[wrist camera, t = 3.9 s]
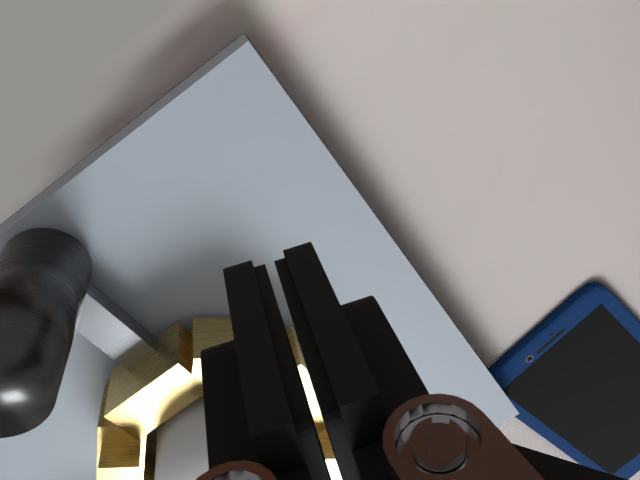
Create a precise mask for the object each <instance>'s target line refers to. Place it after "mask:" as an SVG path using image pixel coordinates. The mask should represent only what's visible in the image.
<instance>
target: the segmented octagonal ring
mask: <svg viewBox="0 0 640 480" xmlns="http://www.w3.org/2000/svg"><path fill="white" fill-rule="evenodd" d="M91 275H92V260H91V257H90V255H89V253H88V251H87V249H86V248H85V247H84V245H83V244H82V243H81V242H80V241H79V240H77V239H76V238H75V237H73V236H71V235H70V234H68V233H66V232H63V231H60V230H57V229H52V228H33V229H28V230H25V231H22V232H20V233H18V234H16V235H15V236H13V237H12V238H11V239H10V240H9V241H8V242H7V243H6V244H5V246H4V248H3V249H2V251H1V253H0V438H7V437H13V436H17V435H20V434H23V433H26V432H28V431H30V430H32V429H34V428H36V427H37V426H39V425H40V424H42V423H43V422H44V421H45V420H46V419H47V418H48V417H49V415H50V414H51V412H52V411H53V409H54V406H55V403H56V400H57V396H58V393H59V389H60V385H61V382H62V378H63V375H64V371H65V368H66V364H67V361H68V357H69V353H70V350H71V346H72V343H73V339H74V336H75V332H76V331H77V332H78V333H80V334H81V335H82V336H84V337H85V338H86V339H87V340H89V341H90V342H91V343H93V344H94V345H95V346H96V347H98V348H99V349H100V350H102V351H103V352H104V353H105V354H107V355H108V356H109V357H111V358H112V359H113V360H115V361H116V362H117V363H118V364H120V365H118V366H117V367H115V368H114V369H113V370H112V371H111V377H110V380H106V382H105V387H104V393H103V398H102V404H101V409H100V415H99V421H98V426H97V480H154V479H155V461H156V444H157V442H156V441H155V440H153V439H152V438H151V437H149V436H148V435H147V434H148V433H149V432H150V431H152V430H153V429H155V428H156V427H158V426H159V425H160V424H162V423H163V422H165V421H166V420H168V419H169V418H170V417H172V416H173V415H175V414H176V413H178V412H179V411H180V410H182V409H183V408H185V407H186V406H188V405H189V404H190V403H192V402H193V401H195V400H196V399H198V398H199V397H200V396H203V385H202V372H201V351H202V350H203V349H207V348H210V347H213V346H216V345H219V344H222V343H225V342H228V341H231V340H234V336H233V330H232V324H231V319H228V318H194V317H193V319H192V329H191V332H190V331H189V330H188V329H187V328H186V327H184V326H183V325H182V324H181V323H180V322H178V323H176V324H175V325H173V326H172V327H171V328H169V329H168V330H167V331H165V332H164V333H162V334H161V335H160V336H158V337H157V338H156V337H155V336H154V335H153V334H152V333H151V332H149V331H148V330H147V329H146V328H145V327H143V326H142V325H141V324H140V323H139V322H138V321H136V320H135V319H134V318H133V317H132V316H130V315H129V314H128V313H127V312H126V311H125V310H123V309H122V308H121V307H120V306H119V305H117V304H116V303H115V302H114V301H113V300H112V299H110V298H109V297H108V296H107V295H106V294H104V293H103V292H102V291H101V290H100V289H99V288H97V287H96V286H95V285H94V284H93V283H91V282H90V279H91ZM286 332H287V335H288V338H289V341H290V344H291V347H292V351H293V354H294V357H295V360H296V363H297V366H298V370H299V373H300V376H301V379H302V382H303V386H304V389H305V392H306V396H307V399H308V403H309V406H310V409H311V413H312V416H313V419H314V423H315V426H316V429H317V433H318V436H319V439H320V443H321V446H322V450H323V453H324V456H325V460H326V463H327V466H328V470H329V473H330V476H331V480H342V478H341V475H340V472H339V468H338V465H337V462H336V459H335V456H334V453H333V450H332V446H331V443H330V440H329V437H328V434H327V431H326V427H325V424H324V421H323V418H322V415H321V412H320V409H319V405H318V402H317V399H316V396H315V393H314V390H313V386H312V383H311V380H310V377H309V374H308V370H307V367H306V364H305V361H304V357H303V354H302V351H301V348H300V344H299V341H298V338H297V335H296V331H295V329H294V328H293V327H292V326H291V325H289V326H287V327H286Z"/></svg>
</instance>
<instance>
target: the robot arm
mask: <svg viewBox="0 0 640 480" xmlns="http://www.w3.org/2000/svg"><path fill="white" fill-rule="evenodd" d="M283 253H284V257H285V258H282V259H279V260H276V261H274V263H275V266H276V269H277V272H278V276H279V279H280V282H281V285H282V289H283V292H284V295H285V299H286V302H287V305H288V308H289V312H290V315H291V318H292V321H293V325H294V328H295V331H296V335H297V338H298V341H299V344H300V348H301V351H302V354H303V357H304V361H305V364H306V367H307V370H308V374H309V377H310V380H311V383H312V386H313V390H314V393H315V396H316V399H317V402H318V405H319V409H320V412H321V415H322V418H323V421H324V424H325V427H326V431H327V434H328V437H329V440H330V443H331V446H332V450H333V453H334V456H335V459H336V462H337V465H338V468H339V472H340V475H341V478H342V480H628V479H625V478H621V477H618V476H615V475H612V474H609V473H605V472H602V471H599V470H596V469H592V468H589V467H586V466H583V465H580V464H576V463H573V462H570V461H567V460H563V459H560V458H557V457H554V456H551V455H547V454H544V453H541V452H538V451H535V450H531V449H528V448H525V447H522V446H518V445H515V444H512V443H511V442H510V441H509V440H508V439H507V438H506V437H505V436H504V434H503V433H502V432H501V431H500V430H499V429H498V428H497V427H496V426H495V424H494V423H493V422H492V421H491V420H490V419H489V418H488V417H487V416H486V415H485V413H484V412H482V411H481V410H480V409H479V408H478V407H476V406H475V405H474V404H473V403H471V402H469V401H467V400H465V399H462V398H460V397H458V396H454V395H447V394H441V393H439V394H429V392H428V390H427V389H426V387H425V385H424V383H423V382H422V380H421V378H420V376H419V374H418V373H417V371H416V369H415V367H414V366H413V364H412V362H411V360H410V359H409V357H408V355H407V353H406V352H405V350H404V348H403V346H402V344H401V343H400V341H399V339H398V337H397V336H396V334H395V332H394V330H393V329H392V327H391V325H390V323H389V321H388V320H387V318H386V316H385V314H384V313H383V311H382V309H381V307H380V306H379V304H378V302H377V300H376V299H375V297H374V296H372V295H371V296H368V297H365V298H361V299H358V300H355V301H352V302H349V303H346V304H343V305H340V303H339V301H338V299H337V297H336V294H335V292H334V290H333V288H332V286H331V284H330V281H329V279H328V277H327V275H326V273H325V271H324V268H323V266H322V264H321V262H320V260H319V258H318V255H317V253H316V251H315V249H314V247H313V245H312V243H311V242H308V243H305V244H301V245H298V246H295V247H292V248H288V249H285V250H283ZM223 274H224V280H225V286H226V293H227V299H228V305H229V311H230V317H231V324H232V330H233V336H234V340H231V341H228V342H225V343H222V344H219V345H216V346H213V347H210V348H207V349H203V350H202V351H201V372H202V385H203V398H204V411H205V425H206V438H207V451H208V464H209V470H208V471H207V472H205V473H204V474H202V475H200V476H199V477H198V478H197V479H196V480H331V476H330V473H329V470H328V466H327V463H326V460H325V456H324V453H323V450H322V446H321V443H320V439H319V436H318V433H317V429H316V426H315V423H314V419H313V416H312V413H311V409H310V406H309V403H308V399H307V396H306V392H305V389H304V386H303V382H302V379H301V376H300V373H299V370H298V366H297V363H296V360H295V357H294V354H293V351H292V347H291V344H290V341H289V338H288V335H287V332H286V328H285V325H284V322H283V319H282V316H281V313H280V310H279V306H278V303H277V300H276V297H275V294H274V291H273V287H272V284H271V281H270V278H269V275H268V272H267V269H266V265H265V264H263V265H260V266H257V267H254V265H253V262H252V260H250V261H246V262H243V263H240V264H237V265H233V266H230V267H227V268H224V269H223Z"/></svg>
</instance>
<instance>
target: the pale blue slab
mask: <svg viewBox="0 0 640 480" xmlns="http://www.w3.org/2000/svg"><path fill="white" fill-rule="evenodd" d="M33 228H52V229H57V230H60V231H63V232H66V233H68V234H70V235H71V236H73V237H75V238H76V239H77V240H79V241H80V242H81V243H82V244H83V245H84V247H85V248H86V249H87V251H88V253H89V255H90V257H91V260H92V275H91V279H90V282H91V283H93V284H94V285H95V286H96V287H97V288H99V289H100V290H101V291H102V292H103V293H104V294H106V295H107V296H108V297H109V298H110V299H112V300H113V301H114V302H115V303H116V304H117V305H119V306H120V307H121V308H122V309H123V310H125V311H126V312H127V313H128V314H129V315H130V316H132V317H133V318H134V319H135V320H136V321H138V322H139V323H140V324H141V325H142V326H143V327H145V328H146V329H147V330H148V331H149V332H151V333H152V334H153V335H154V336H155V337H156V338H157V337H158V336H160V335H161V334H162V333H164V332H165V331H167V330H168V329H169V328H171V327H172V326H173V325H175V324H176V323H178V322H180V323H181V324H182V325H183V326H184V327H186V328H187V329H188V330H189V331H190V332H191V329H192V319H193V317H194V318H228V319H231V317H230V311H229V305H228V299H227V293H226V286H225V280H224V274H223V269H224V268H227V267H230V266H233V265H237V264H240V263H243V262H246V261H250V260H252V262H253V265H254V267H257V266H260V265H263V264H265V265H266V269H267V272H268V275H269V278H270V281H271V284H272V287H273V291H274V294H275V297H276V300H277V303H278V306H279V310H280V313H281V316H282V319H283V322H284V325H285V328H286V327H287V326H289V325H291V326H292V327H293V328H294V325H293V321H292V318H291V315H290V312H289V308H288V305H287V302H286V299H285V295H284V292H283V289H282V285H281V282H280V279H279V276H278V272H277V269H276V266H275V263H274V261H276V260H279V259H282V258H285V257H284V253H283V250H285V249H288V248H292V247H295V246H298V245H301V244H305V243H308V242H311V243H312V245H313V247H314V249H315V251H316V253H317V255H318V258H319V260H320V262H321V264H322V266H323V268H324V271H325V273H326V275H327V277H328V279H329V281H330V284H331V286H332V288H333V290H334V292H335V294H336V297H337V299H338V301H339V303H340V305H343V304H346V303H349V302H352V301H355V300H358V299H361V298H365V297H368V296H371V295H372V296H374V297H375V299H376V300H377V302H378V304H379V306H380V307H381V309H382V311H383V313H384V314H385V316H386V318H387V320H388V321H389V323H390V325H391V327H392V329H393V330H394V332H395V334H396V336H397V337H398V339H399V341H400V343H401V344H402V346H403V348H404V350H405V352H406V353H407V355H408V357H409V359H410V360H411V362H412V364H413V366H414V367H415V369H416V371H417V373H418V374H419V376H420V378H421V380H422V382H423V383H424V385H425V387H426V389H427V390H428V392H429V394H439V393H441V394H447V395H454V396H458V397H460V398H462V399H465V400H467V401H469V402H471V403H473V404H474V405H475V406H476V407H478V408H479V409H480V410H481V411H482V412H484V413H485V415H486V416H487V417H488V418H489V419H490V420H491V421H492V422H493V423H494V424H495V426H496V427H497V428H498V427H499V426H501V425H502V424H504V423H506V422H507V421H509V420H510V419H512V418H513V417H515V416H516V415H518V414H519V412H518V411H517V410H516V408H515V407H514V405H513V404H512V403H511V401H510V400H509V398H508V397H507V396H506V394H505V393H504V391H503V390H502V389H501V387H500V386H499V385H498V383H497V382H496V380H495V379H494V378H493V376H492V375H491V373H490V372H489V371H488V369H487V368H486V367H485V365H484V364H483V362H482V361H481V360H480V358H479V357H478V356H477V354H476V353H475V351H474V350H473V349H472V347H471V346H470V345H469V343H468V342H467V340H466V339H465V338H464V336H463V335H462V334H461V332H460V331H459V329H458V328H457V327H456V325H455V324H454V322H453V321H452V320H451V318H450V317H449V316H448V314H447V313H446V311H445V310H444V309H443V307H442V306H441V305H440V303H439V302H438V300H437V299H436V298H435V296H434V295H433V294H432V292H431V291H430V289H429V288H428V287H427V285H426V284H425V283H424V281H423V280H422V278H421V277H420V276H419V274H418V273H417V272H416V270H415V269H414V267H413V266H412V265H411V263H410V262H409V261H408V259H407V258H406V256H405V255H404V254H403V252H402V251H401V250H400V248H399V247H398V245H397V244H396V243H395V241H394V240H393V239H392V237H391V236H390V234H389V233H388V232H387V230H386V229H385V228H384V226H383V225H382V223H381V222H380V221H379V219H378V218H377V216H376V215H375V214H374V212H373V211H372V210H371V208H370V207H369V205H368V204H367V203H366V201H365V200H364V199H363V197H362V196H361V194H360V193H359V192H358V190H357V189H356V188H355V186H354V185H353V183H352V182H351V181H350V179H349V178H348V177H347V175H346V174H345V172H344V171H343V170H342V168H341V167H340V166H339V164H338V163H337V161H336V160H335V159H334V157H333V156H332V155H331V153H330V152H329V150H328V149H327V148H326V146H325V145H324V144H323V142H322V141H321V139H320V138H319V137H318V135H317V134H316V133H315V131H314V130H313V128H312V127H311V126H310V124H309V123H308V122H307V120H306V119H305V117H304V116H303V115H302V113H301V112H300V111H299V109H298V108H297V106H296V105H295V104H294V102H293V101H292V99H291V98H290V97H289V95H288V94H287V93H286V91H285V90H284V88H283V87H282V86H281V84H280V83H279V82H278V80H277V79H276V77H275V76H274V75H273V73H272V72H271V71H270V69H269V68H268V66H267V65H266V64H265V62H264V61H263V60H262V58H261V57H260V55H259V54H258V53H257V51H256V50H255V49H254V47H253V46H252V44H251V43H250V42H249V40H248V39H247V38H246V36H245V35H244V34H242V35H241V36H240V37H238V38H237V39H236V40H235V41H233V42H232V43H231V44H230V45H228V46H227V47H226V48H224V49H223V50H222V51H221V52H219V53H218V54H217V55H216V56H214V57H213V58H212V59H210V60H209V61H208V62H207V63H205V64H204V65H203V66H202V67H200V68H199V69H198V70H196V71H195V72H194V73H193V74H191V75H190V76H189V77H188V78H186V79H185V80H184V81H183V82H181V83H180V84H179V85H177V86H176V87H175V88H174V89H172V90H171V91H170V92H169V93H167V94H166V95H165V96H163V97H162V98H161V99H160V100H158V101H157V102H156V103H155V104H153V105H152V106H151V107H149V108H148V109H147V110H146V111H144V112H143V113H142V114H141V115H139V116H138V117H137V118H135V119H134V120H133V121H132V122H130V123H129V124H128V125H127V126H125V127H124V128H123V129H121V130H120V131H119V132H118V133H116V134H115V135H114V136H113V137H111V138H110V139H109V140H107V141H106V142H105V143H104V144H102V145H101V146H100V147H99V148H97V149H96V150H95V151H93V152H92V153H91V154H90V155H88V156H87V157H86V158H85V159H83V160H82V161H81V162H79V163H78V164H77V165H76V166H74V167H73V168H72V169H71V170H69V171H68V172H67V173H65V174H64V175H63V176H62V177H60V178H59V179H58V180H57V181H55V182H54V183H53V184H51V185H50V186H49V187H48V188H46V189H45V190H44V191H43V192H41V193H40V194H39V195H37V196H36V197H35V198H34V199H32V200H31V201H30V202H29V203H27V204H26V205H25V206H23V207H22V208H21V209H20V210H18V211H17V212H16V213H15V214H13V215H12V216H11V217H9V218H8V219H7V220H6V221H4V222H3V223H2V224H1V225H0V253H1V251H2V249H3V248H4V246H5V244H6V243H7V242H8V241H9V240H10V239H11V238H12V237H13V236H15V235H16V234H18V233H20V232H22V231H25V230H28V229H33ZM294 329H295V328H294ZM118 365H120V364H118V363H117V362H116V361H115V360H113V359H112V358H111V357H109V356H108V355H107V354H105V353H104V352H103V351H102V350H100V349H99V348H98V347H96V346H95V345H94V344H93V343H91V342H90V341H89V340H87V339H86V338H85V337H84V336H82V335H81V334H80V333H78V332H77V331H76V332H75V336H74V339H73V343H72V346H71V350H70V353H69V357H68V361H67V364H66V368H65V371H64V375H63V378H62V382H61V385H60V389H59V393H58V396H57V400H56V403H55V406H54V409H53V411H52V412H51V414H50V415H49V417H48V418H47V419H46V420H45V421H44V422H43V423H42V424H40V425H39V426H37V427H36V428H34V429H32V430H30V431H28V432H26V433H23V434H20V435H17V436H13V437H7V438H0V480H97V426H98V421H99V415H100V409H101V404H102V398H103V393H104V387H105V382H106V380H110V377H111V371H112V370H113V369H114V368H115V367H117V366H118ZM147 435H148V436H149V437H151V438H152V439H153V440H155V441H156V442H157V444H156V461H155V479H154V480H196V479H197V478H198V477H199V476H200V475H202V474H204V473H205V472H207V471H208V470H209V464H208V451H207V438H206V425H205V411H204V398H203V396H200V397H199V398H198V399H196V400H195V401H193V402H192V403H190V404H189V405H188V406H186V407H185V408H183V409H182V410H180V411H179V412H178V413H176V414H175V415H173V416H172V417H170V418H169V419H168V420H166V421H165V422H163V423H162V424H160V425H159V426H158V427H156V428H155V429H153V430H152V431H150V432H149V433H148V434H147Z"/></svg>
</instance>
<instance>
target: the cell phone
mask: <svg viewBox="0 0 640 480" xmlns="http://www.w3.org/2000/svg"><path fill="white" fill-rule="evenodd" d="M488 371H489V372H490V373H491V375H492V376H493V378H494V379H495V380H496V382H497V383H498V385H499V386H500V387H501V389H502V390H503V391H504V393H505V394H506V396H507V397H508V398H509V400H510V401H511V403H512V404H513V405H514V407H515V408H516V410H517V411H518V412H519V414H518V415H516V416H515V417H516V418H518V419H519V420H520V421H522V422H523V423H525V424H526V425H527V426H529V427H530V428H531V429H533V430H534V431H535V432H537V433H538V434H540V435H541V436H542V437H544V438H545V439H546V440H548V441H549V442H551V443H552V444H553V445H555V446H556V447H557V448H559V449H560V450H561V451H563V452H564V453H566V454H567V455H568V456H570V457H571V458H572V459H574V460H575V461H576V462H578V463H579V464H581V465H583V466H586V467H589V468H592V469H596V470H599V471H602V472H605V473H609V474H612V475H615V476H618V477H621V478H625V479H629V478H630V477H632V476H633V475H634V474H636V473H637V472H638V471H639V470H640V322H639V321H638V320H637V319H636V318H635V317H634V315H633V314H632V313H631V312H630V311H629V310H628V309H627V308H626V307H625V306H624V305H623V304H622V303H621V301H620V300H619V299H618V298H617V297H616V296H615V295H614V294H613V293H612V292H611V291H609V290H608V289H607V288H606V287H605V286H604V285H602V284H601V283H599V282H590V283H587V284H586V285H584V286H583V287H581V288H580V289H578V290H577V291H576V292H575V293H573V294H572V295H571V296H570V297H569V298H568V299H567V300H565V301H564V302H563V303H562V304H561V305H560V306H559V307H557V308H556V309H555V310H554V311H553V312H552V313H551V314H550V315H548V316H547V317H546V318H545V319H544V320H543V321H542V322H541V323H539V324H538V325H537V326H536V327H535V328H534V329H533V330H531V331H530V332H529V333H528V334H527V335H526V336H525V337H524V338H522V339H521V340H520V341H519V342H518V343H517V344H516V345H515V346H513V347H512V348H511V349H510V350H509V351H508V352H507V353H505V354H504V355H503V356H502V357H501V358H500V359H499V360H498V361H496V362H495V363H494V364H493V365H492V366H491V367H490V368H489V369H488Z"/></svg>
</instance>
